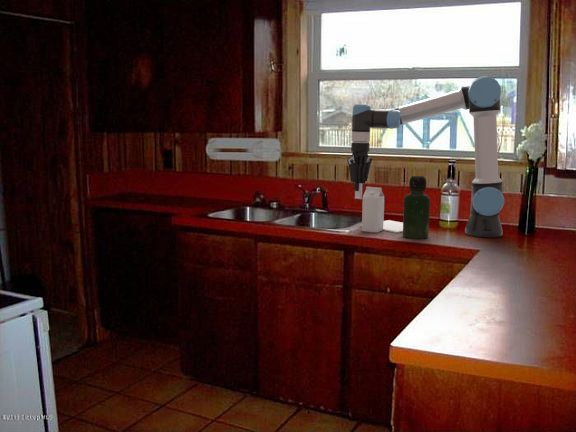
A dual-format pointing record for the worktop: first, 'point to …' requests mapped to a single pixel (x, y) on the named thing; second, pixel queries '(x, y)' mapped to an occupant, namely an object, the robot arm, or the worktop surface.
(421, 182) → the green bottle
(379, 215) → the milk carton
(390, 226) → the mat
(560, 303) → the worktop surface
